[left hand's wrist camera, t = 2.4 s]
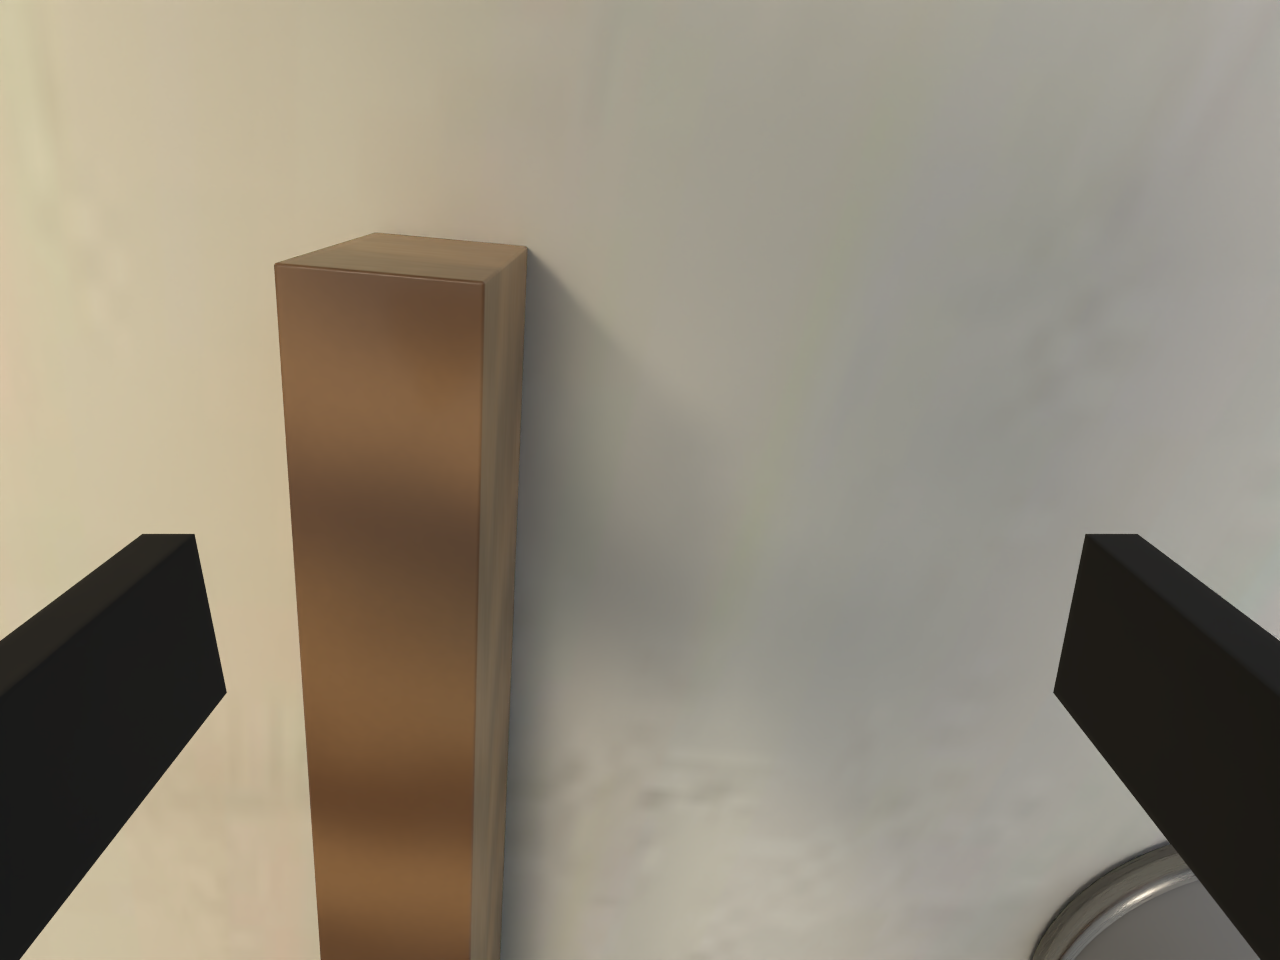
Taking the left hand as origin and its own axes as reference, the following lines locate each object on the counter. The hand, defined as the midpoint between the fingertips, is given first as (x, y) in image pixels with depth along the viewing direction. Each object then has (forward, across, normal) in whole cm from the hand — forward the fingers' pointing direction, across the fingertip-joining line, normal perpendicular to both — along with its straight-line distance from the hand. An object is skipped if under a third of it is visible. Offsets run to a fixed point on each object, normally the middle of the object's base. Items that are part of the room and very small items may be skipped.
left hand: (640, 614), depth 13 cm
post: (+15, -8, -26) cm, 31 cm away
